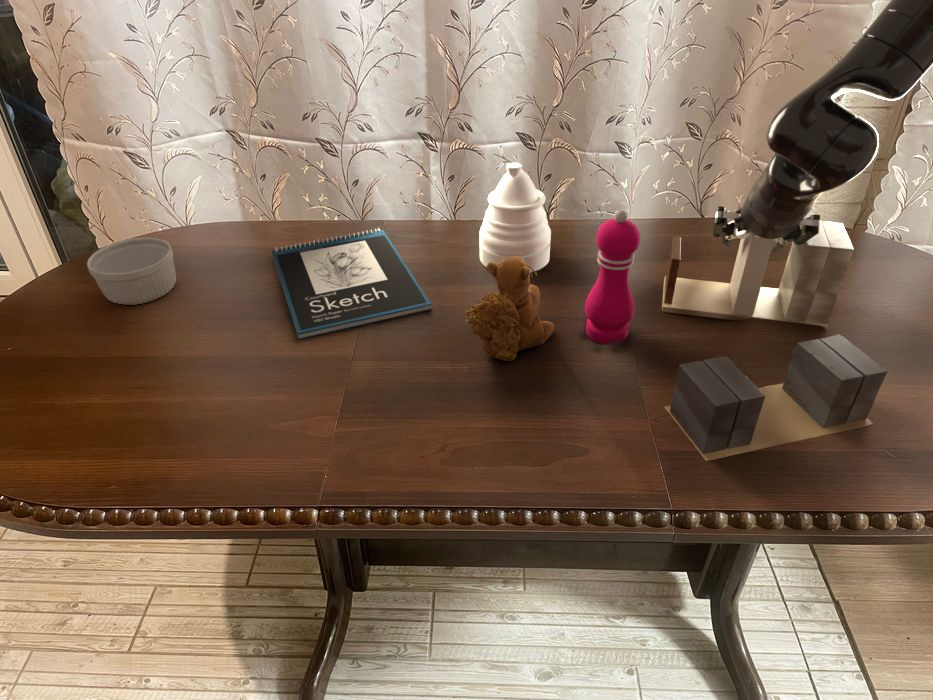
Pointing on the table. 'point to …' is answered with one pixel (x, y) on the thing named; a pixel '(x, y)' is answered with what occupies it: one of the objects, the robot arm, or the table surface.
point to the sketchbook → (346, 283)
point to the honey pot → (515, 222)
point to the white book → (749, 273)
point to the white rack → (797, 300)
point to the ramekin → (134, 270)
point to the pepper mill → (612, 281)
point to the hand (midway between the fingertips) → (750, 242)
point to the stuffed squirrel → (509, 312)
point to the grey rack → (775, 399)
